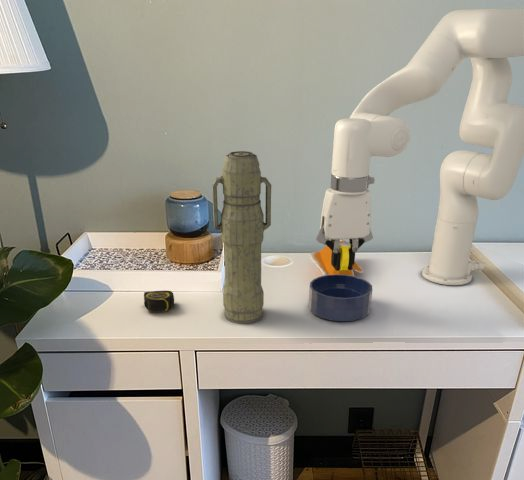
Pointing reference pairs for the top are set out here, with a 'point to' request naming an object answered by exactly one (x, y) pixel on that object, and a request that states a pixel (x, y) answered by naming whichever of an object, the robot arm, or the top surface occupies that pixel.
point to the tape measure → (159, 301)
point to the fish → (324, 263)
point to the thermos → (242, 234)
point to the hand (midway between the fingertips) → (342, 267)
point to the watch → (344, 255)
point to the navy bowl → (340, 297)
